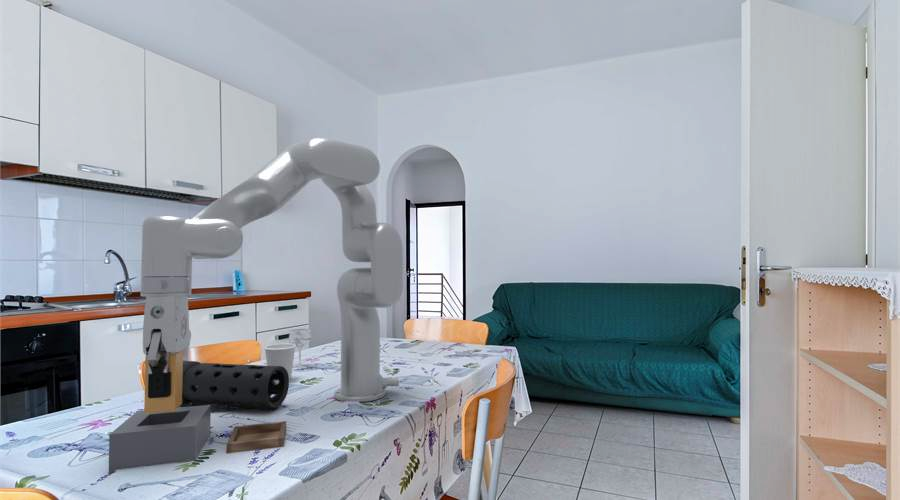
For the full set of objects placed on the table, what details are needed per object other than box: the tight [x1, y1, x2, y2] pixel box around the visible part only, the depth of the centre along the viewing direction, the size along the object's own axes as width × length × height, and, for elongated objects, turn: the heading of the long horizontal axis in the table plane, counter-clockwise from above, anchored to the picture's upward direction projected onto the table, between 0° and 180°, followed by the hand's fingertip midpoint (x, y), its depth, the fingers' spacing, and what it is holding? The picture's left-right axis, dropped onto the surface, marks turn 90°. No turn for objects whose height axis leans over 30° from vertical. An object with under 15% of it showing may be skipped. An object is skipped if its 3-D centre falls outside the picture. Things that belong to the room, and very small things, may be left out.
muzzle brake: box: [181, 360, 290, 411], centre depth 104 cm, size 10×28×10 cm, turn 78°
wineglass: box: [288, 328, 312, 368], centre depth 144 cm, size 7×7×12 cm
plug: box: [143, 350, 183, 414], centre depth 79 cm, size 4×4×12 cm
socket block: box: [108, 405, 212, 474], centre depth 78 cm, size 12×12×6 cm
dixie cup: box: [263, 342, 297, 384], centre depth 127 cm, size 8×8×10 cm
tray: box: [225, 420, 287, 454], centre depth 83 cm, size 9×9×2 cm
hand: (164, 391), depth 78 cm, fingers closed on plug, 4 cm apart
